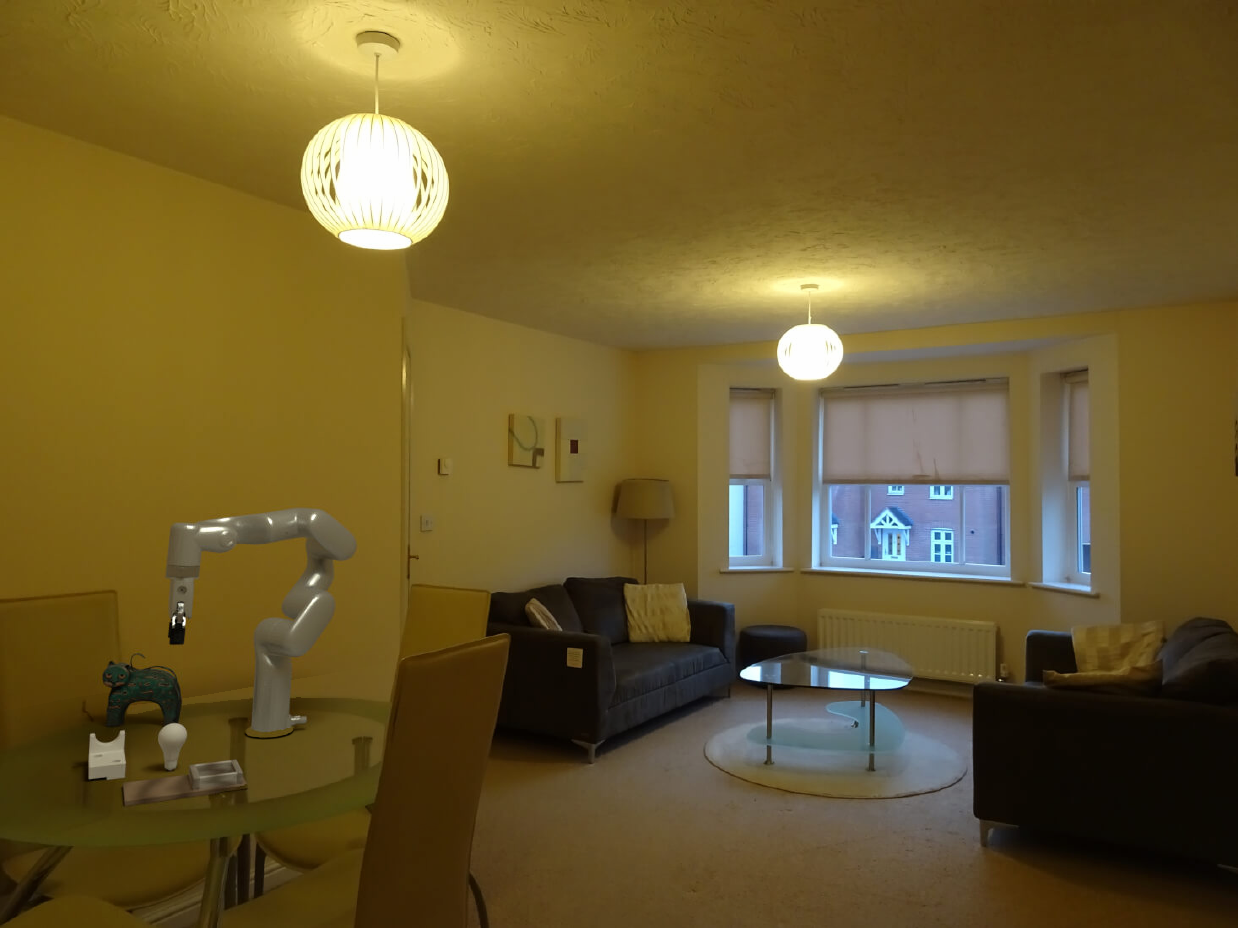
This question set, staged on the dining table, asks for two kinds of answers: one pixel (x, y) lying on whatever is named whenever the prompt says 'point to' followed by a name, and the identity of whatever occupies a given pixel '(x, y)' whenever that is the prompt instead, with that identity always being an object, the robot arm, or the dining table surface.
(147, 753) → the dining table surface
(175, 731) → the lightbulb
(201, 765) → the wooden board with tray
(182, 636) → the robot arm
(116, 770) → the bracket
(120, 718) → the ceramic cat
